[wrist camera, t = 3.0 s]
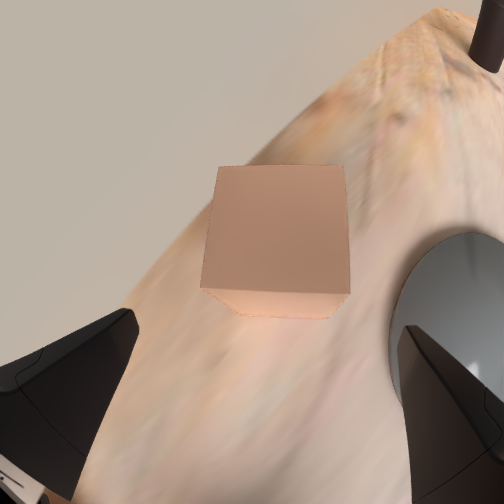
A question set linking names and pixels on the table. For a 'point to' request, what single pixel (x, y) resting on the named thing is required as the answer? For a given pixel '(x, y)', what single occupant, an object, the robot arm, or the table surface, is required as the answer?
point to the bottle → (489, 36)
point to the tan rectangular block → (278, 241)
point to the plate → (457, 306)
